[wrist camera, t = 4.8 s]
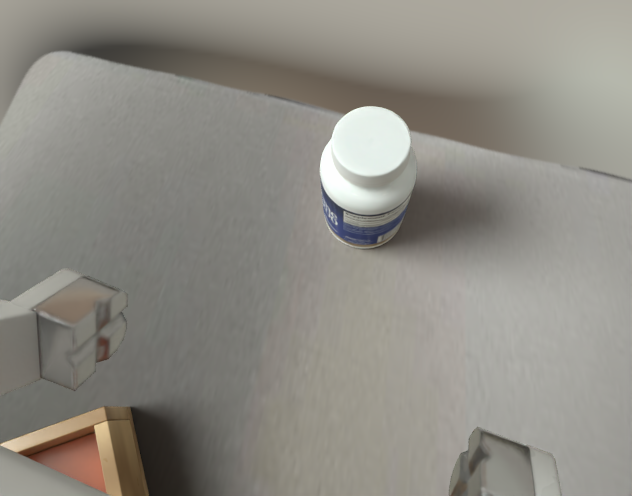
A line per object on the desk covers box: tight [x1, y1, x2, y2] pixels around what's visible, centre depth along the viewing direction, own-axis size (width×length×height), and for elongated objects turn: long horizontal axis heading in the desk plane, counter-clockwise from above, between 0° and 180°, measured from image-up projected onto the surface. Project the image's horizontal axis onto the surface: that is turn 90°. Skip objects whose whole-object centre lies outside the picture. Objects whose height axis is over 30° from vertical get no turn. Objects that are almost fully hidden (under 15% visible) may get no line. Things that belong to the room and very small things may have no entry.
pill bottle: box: [320, 106, 417, 249], centre depth 29 cm, size 5×5×10 cm
